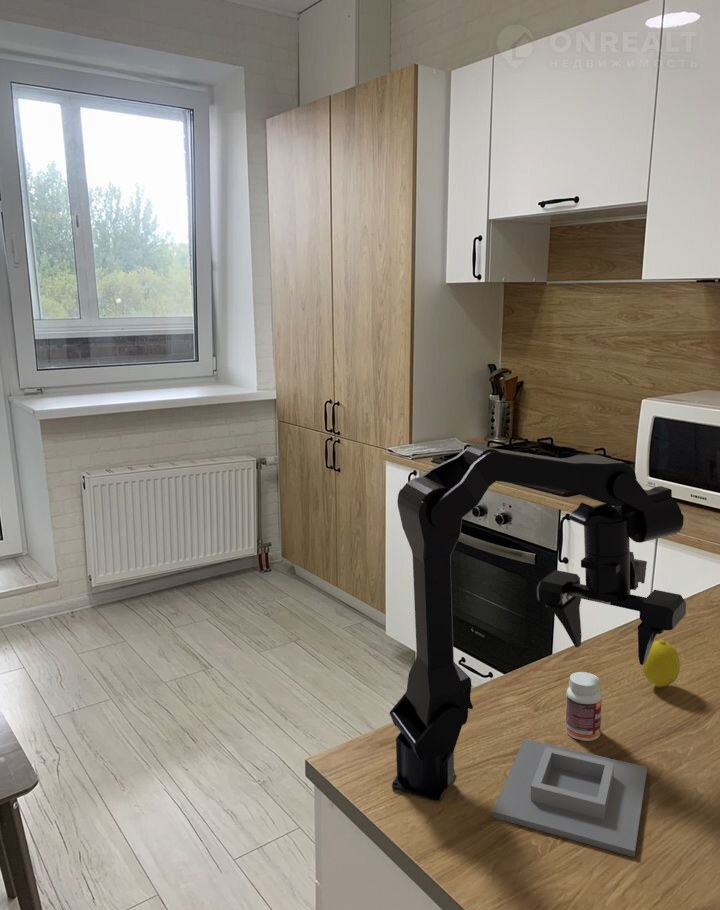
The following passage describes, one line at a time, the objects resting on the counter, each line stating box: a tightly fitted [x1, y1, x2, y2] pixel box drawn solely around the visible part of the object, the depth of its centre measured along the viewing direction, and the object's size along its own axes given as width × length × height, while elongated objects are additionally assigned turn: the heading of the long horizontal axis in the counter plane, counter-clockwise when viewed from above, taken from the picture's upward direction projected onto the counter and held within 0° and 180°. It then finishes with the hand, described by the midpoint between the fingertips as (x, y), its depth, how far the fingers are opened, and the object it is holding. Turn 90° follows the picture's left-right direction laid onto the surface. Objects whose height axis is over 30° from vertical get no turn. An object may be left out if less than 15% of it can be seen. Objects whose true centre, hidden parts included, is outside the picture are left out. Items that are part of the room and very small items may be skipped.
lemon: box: [641, 639, 681, 689], centre depth 113 cm, size 6×6×8 cm
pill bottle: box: [565, 671, 603, 742], centre depth 102 cm, size 5×5×8 cm
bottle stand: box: [492, 738, 648, 858], centre depth 90 cm, size 16×16×3 cm
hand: (609, 654), depth 100 cm, fingers open, 9 cm apart
